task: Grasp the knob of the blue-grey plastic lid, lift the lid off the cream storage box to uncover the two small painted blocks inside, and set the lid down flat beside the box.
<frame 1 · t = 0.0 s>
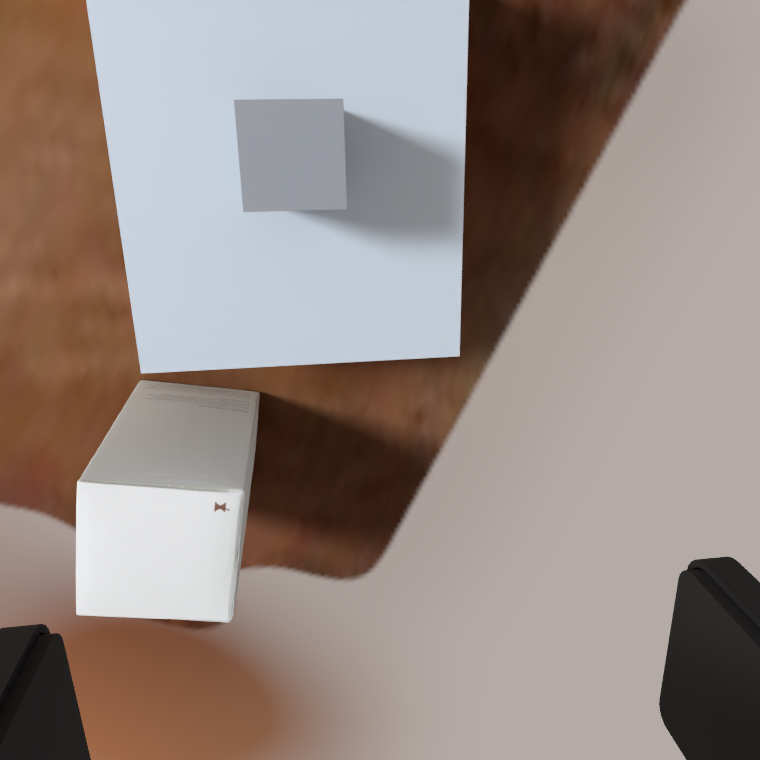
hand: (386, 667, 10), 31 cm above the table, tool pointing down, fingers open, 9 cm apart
supplement box: (196, 436, 42), on the table
lid: (292, 152, 29), point 8 cm above the table, touching storage box
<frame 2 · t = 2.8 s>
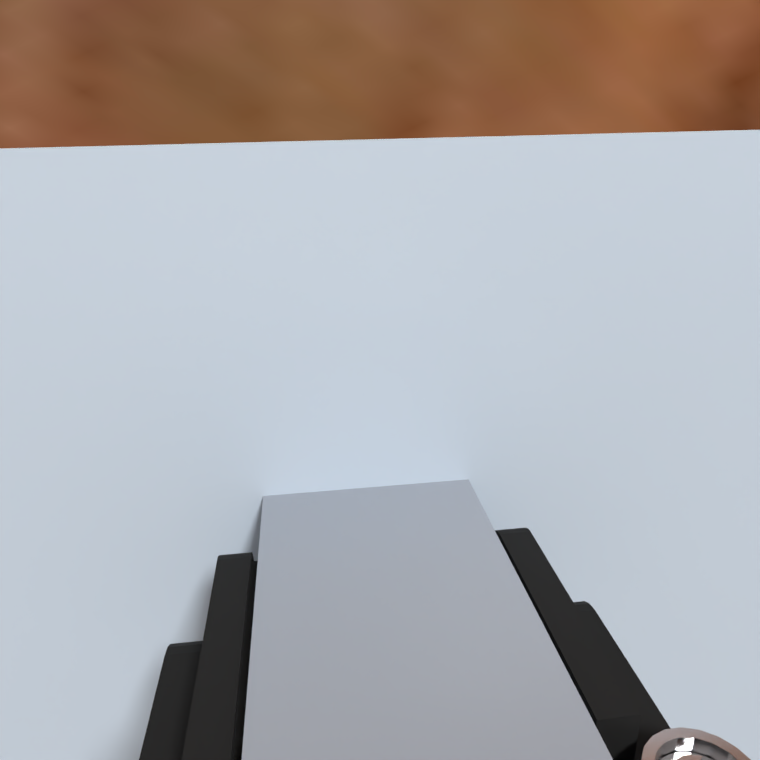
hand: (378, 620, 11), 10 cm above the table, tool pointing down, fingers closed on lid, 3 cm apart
lid: (364, 543, 13), point 8 cm above the table, touching gripper, storage box
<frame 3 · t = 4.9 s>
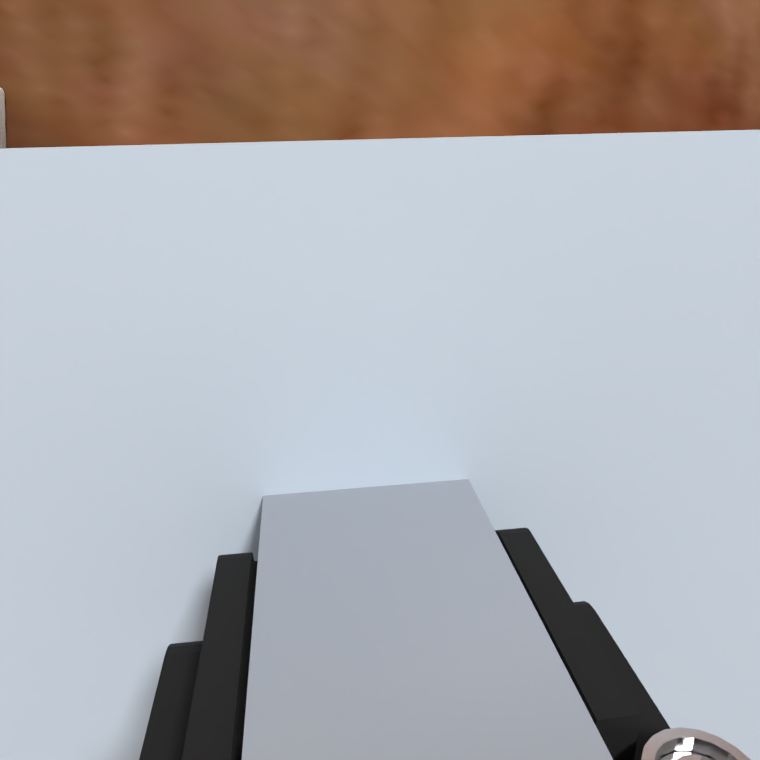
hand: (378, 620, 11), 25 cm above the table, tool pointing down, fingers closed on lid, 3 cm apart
lid: (364, 542, 13), point 22 cm above the table, touching gripper
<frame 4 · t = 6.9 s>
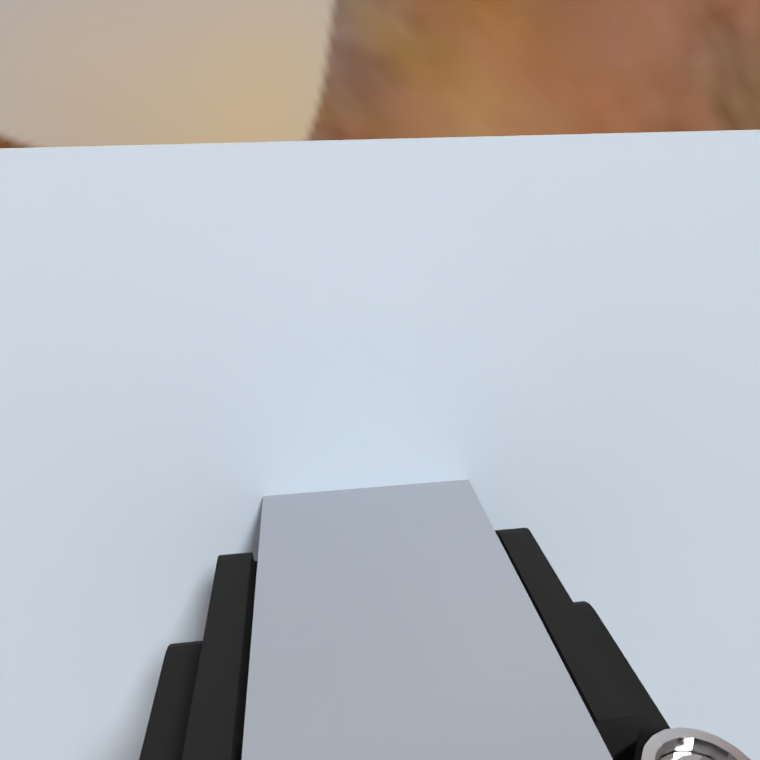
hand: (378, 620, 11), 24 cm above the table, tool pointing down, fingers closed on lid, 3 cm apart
lid: (364, 543, 13), point 22 cm above the table, touching gripper
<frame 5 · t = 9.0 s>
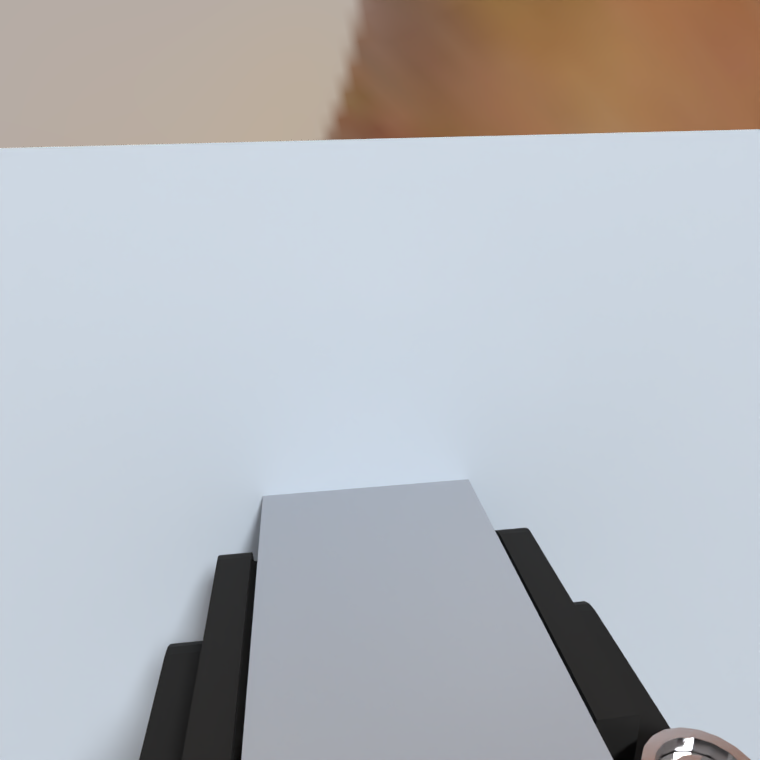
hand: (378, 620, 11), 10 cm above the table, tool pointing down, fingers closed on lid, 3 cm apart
lid: (364, 543, 13), point 8 cm above the table, touching gripper
when the fingers open (5 cm above the table, at t = 10.9 s): lid drops 3 cm, on the table.
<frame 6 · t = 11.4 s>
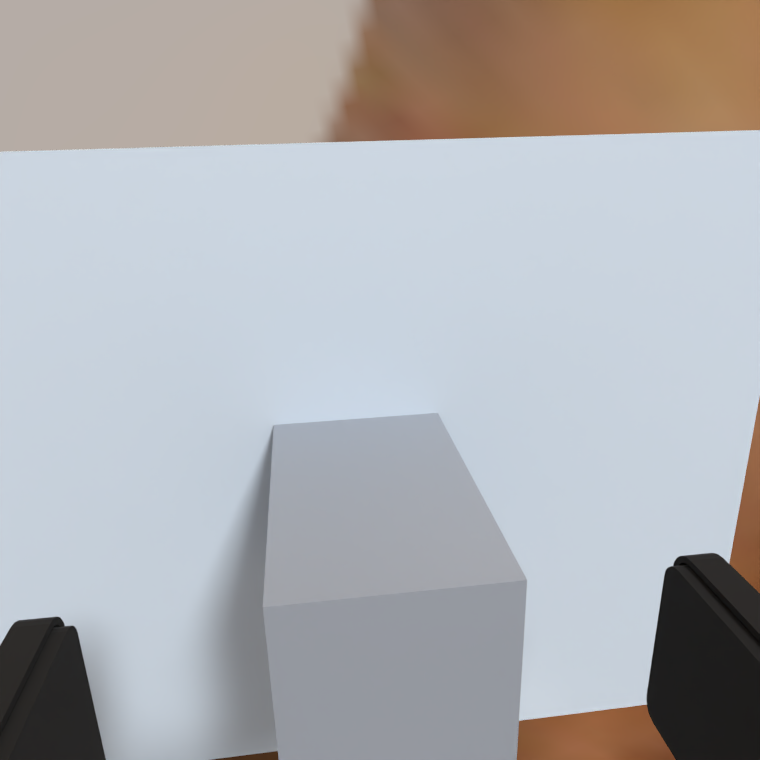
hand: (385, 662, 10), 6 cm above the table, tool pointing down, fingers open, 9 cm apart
lid: (355, 470, 16), on the table
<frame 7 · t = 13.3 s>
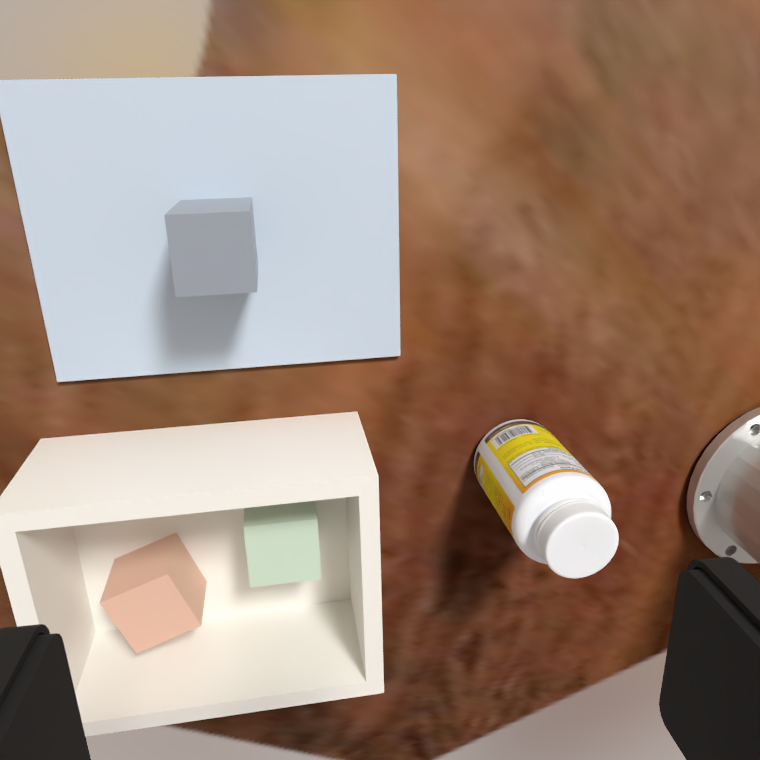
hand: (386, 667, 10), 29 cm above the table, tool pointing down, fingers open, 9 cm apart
terracotta block: (161, 570, 41), point 1 cm above the table, touching storage box
lid: (221, 231, 36), on the table
storage box: (217, 526, 41), on the table
sage block: (281, 514, 41), point 1 cm above the table, touching storage box
supplement bottle: (511, 453, 43), on the table
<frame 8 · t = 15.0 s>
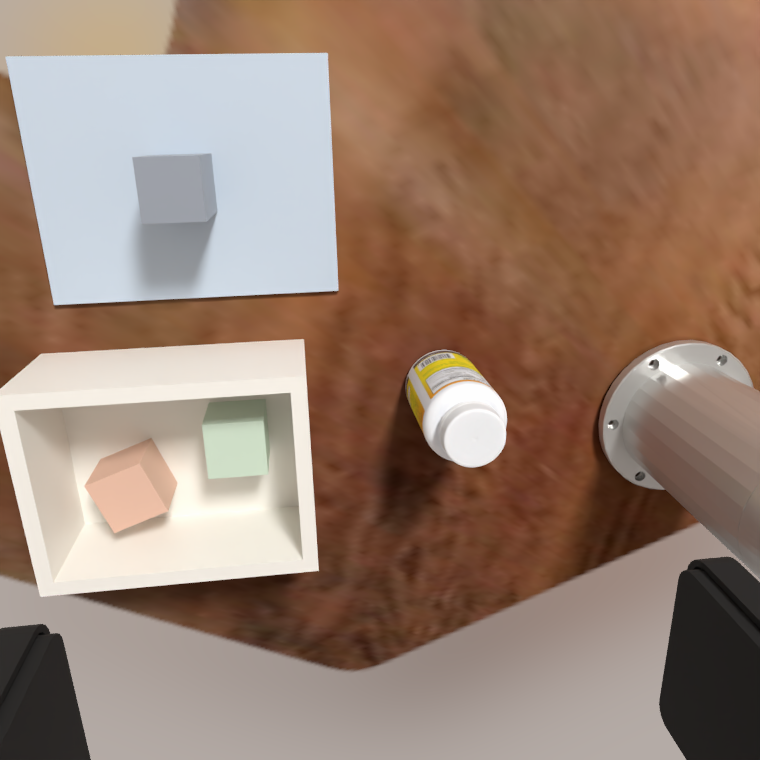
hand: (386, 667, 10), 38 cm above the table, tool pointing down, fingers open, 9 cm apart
terracotta block: (139, 471, 49), point 1 cm above the table, touching storage box
lid: (188, 182, 44), on the table
storage box: (187, 436, 49), on the table
sage block: (240, 426, 48), point 1 cm above the table, touching storage box
supplement bottle: (439, 381, 50), on the table
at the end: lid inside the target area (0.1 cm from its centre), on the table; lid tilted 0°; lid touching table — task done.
